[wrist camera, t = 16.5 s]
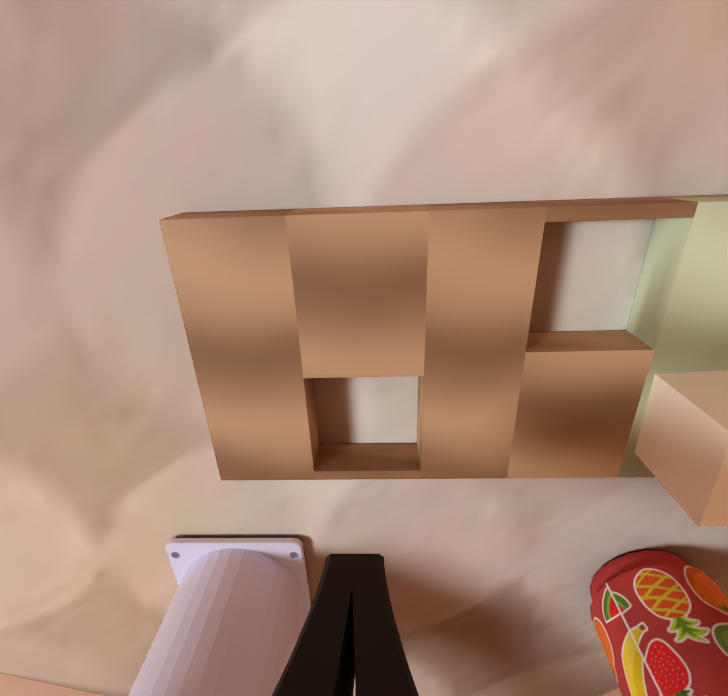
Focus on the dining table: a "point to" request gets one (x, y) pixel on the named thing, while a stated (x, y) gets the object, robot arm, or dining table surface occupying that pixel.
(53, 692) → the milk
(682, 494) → the block
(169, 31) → the dining table surface
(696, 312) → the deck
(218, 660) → the robot arm
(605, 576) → the smoothie
